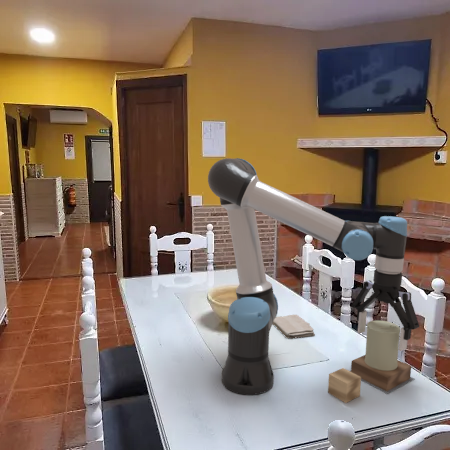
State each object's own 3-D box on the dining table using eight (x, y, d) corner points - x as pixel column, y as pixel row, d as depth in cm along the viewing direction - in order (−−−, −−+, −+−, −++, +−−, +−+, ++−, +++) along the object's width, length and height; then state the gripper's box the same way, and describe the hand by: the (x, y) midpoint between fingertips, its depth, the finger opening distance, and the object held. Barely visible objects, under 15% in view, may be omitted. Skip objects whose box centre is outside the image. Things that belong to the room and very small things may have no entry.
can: (400, 372, 116) (403, 332, 114) (366, 369, 117) (369, 329, 116) (394, 357, 125) (397, 320, 123) (362, 354, 126) (365, 317, 125)
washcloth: (287, 341, 146) (288, 333, 146) (268, 322, 163) (268, 315, 163) (317, 337, 150) (317, 329, 149) (294, 319, 167) (295, 312, 166)
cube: (345, 404, 108) (347, 383, 107) (327, 394, 112) (329, 374, 111) (359, 397, 111) (361, 377, 110) (341, 387, 116) (343, 367, 115)
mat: (387, 395, 112) (387, 394, 112) (345, 373, 123) (345, 372, 123) (415, 380, 120) (415, 378, 120) (373, 361, 131) (373, 360, 131)
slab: (386, 391, 113) (387, 378, 113) (350, 373, 123) (351, 360, 122) (410, 378, 120) (411, 365, 120) (374, 362, 130) (375, 350, 129)
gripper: (438, 280, 109) (429, 354, 112) (359, 259, 129) (353, 323, 132) (424, 284, 104) (414, 361, 108) (344, 262, 124) (338, 327, 128)
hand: (380, 340), depth 120 cm, fingers open, 13 cm apart
